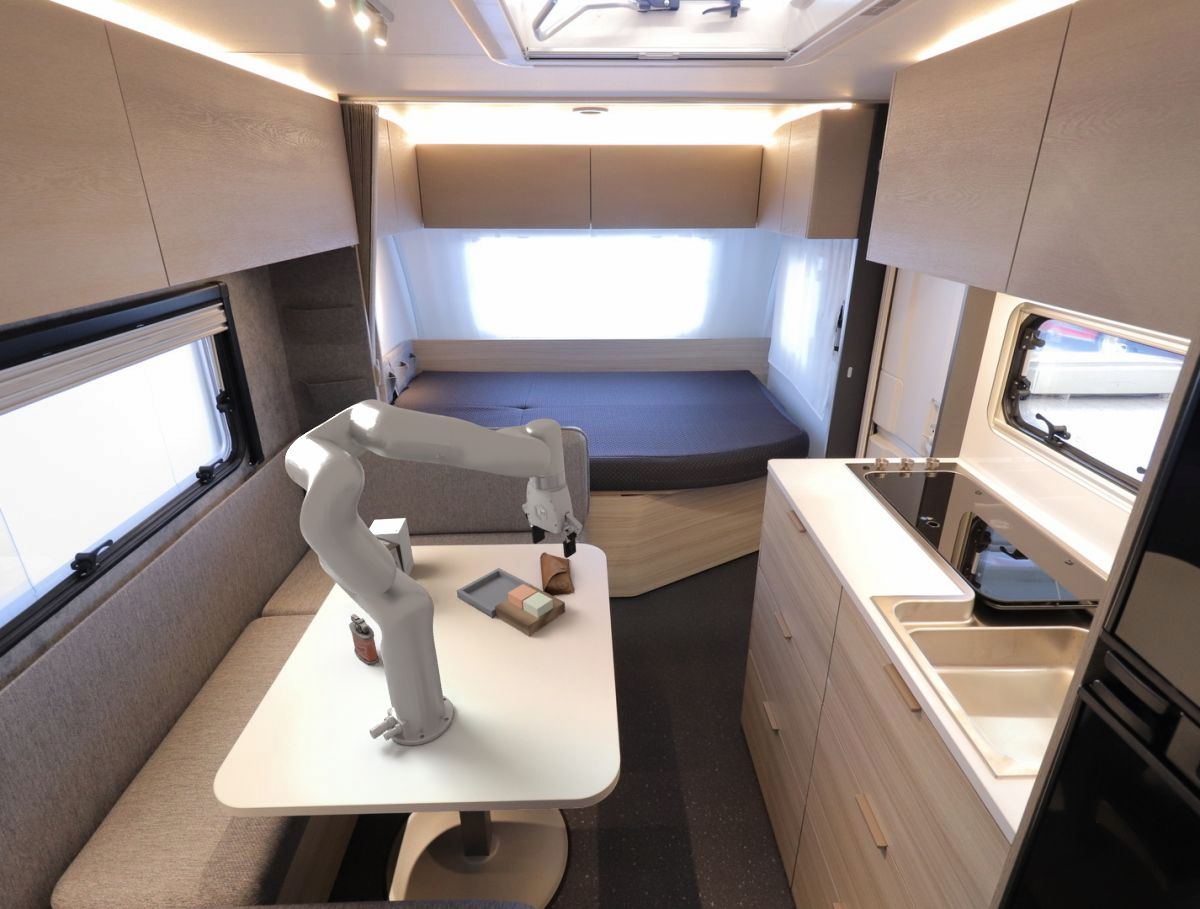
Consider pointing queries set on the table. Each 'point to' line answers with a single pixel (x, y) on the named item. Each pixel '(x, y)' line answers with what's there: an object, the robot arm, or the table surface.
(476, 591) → the tray
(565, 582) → the sunglasses case
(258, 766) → the table surface
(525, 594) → the tile
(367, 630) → the lighter
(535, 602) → the pale green rectangular block
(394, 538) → the supplement box
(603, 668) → the table surface
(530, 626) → the brown square slab
